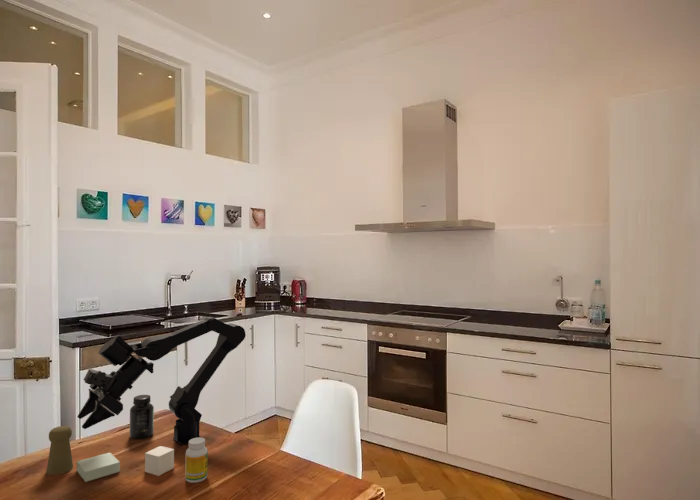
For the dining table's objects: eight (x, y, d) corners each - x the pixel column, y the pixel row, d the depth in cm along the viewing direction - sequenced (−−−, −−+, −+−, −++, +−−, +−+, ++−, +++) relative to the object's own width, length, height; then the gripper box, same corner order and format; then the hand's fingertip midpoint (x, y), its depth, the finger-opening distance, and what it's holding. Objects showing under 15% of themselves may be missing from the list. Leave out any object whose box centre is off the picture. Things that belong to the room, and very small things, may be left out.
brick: (160, 464, 125) (160, 445, 125) (173, 468, 122) (174, 449, 122) (144, 472, 120) (145, 452, 120) (158, 476, 118) (158, 456, 118)
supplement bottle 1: (158, 432, 147) (158, 394, 147) (143, 440, 140) (144, 401, 140) (139, 430, 148) (139, 392, 148) (124, 438, 142) (125, 399, 142)
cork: (60, 476, 117) (60, 432, 118) (40, 473, 119) (40, 430, 119) (78, 465, 123) (79, 424, 123) (59, 463, 125) (60, 422, 125)
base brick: (109, 461, 126) (110, 452, 126) (119, 471, 120) (119, 461, 120) (76, 470, 120) (76, 461, 120) (85, 481, 114) (85, 471, 114)
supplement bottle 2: (184, 475, 118) (184, 438, 118) (205, 471, 120) (206, 434, 120) (186, 485, 113) (187, 446, 113) (209, 480, 116) (209, 442, 116)
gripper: (98, 352, 135) (53, 396, 128) (110, 364, 120) (59, 415, 113) (127, 375, 139) (85, 419, 133) (142, 390, 124) (95, 440, 118)
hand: (80, 422), depth 124 cm, fingers open, 9 cm apart
